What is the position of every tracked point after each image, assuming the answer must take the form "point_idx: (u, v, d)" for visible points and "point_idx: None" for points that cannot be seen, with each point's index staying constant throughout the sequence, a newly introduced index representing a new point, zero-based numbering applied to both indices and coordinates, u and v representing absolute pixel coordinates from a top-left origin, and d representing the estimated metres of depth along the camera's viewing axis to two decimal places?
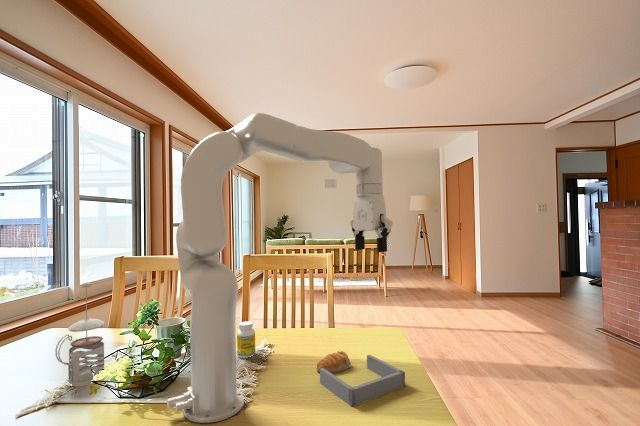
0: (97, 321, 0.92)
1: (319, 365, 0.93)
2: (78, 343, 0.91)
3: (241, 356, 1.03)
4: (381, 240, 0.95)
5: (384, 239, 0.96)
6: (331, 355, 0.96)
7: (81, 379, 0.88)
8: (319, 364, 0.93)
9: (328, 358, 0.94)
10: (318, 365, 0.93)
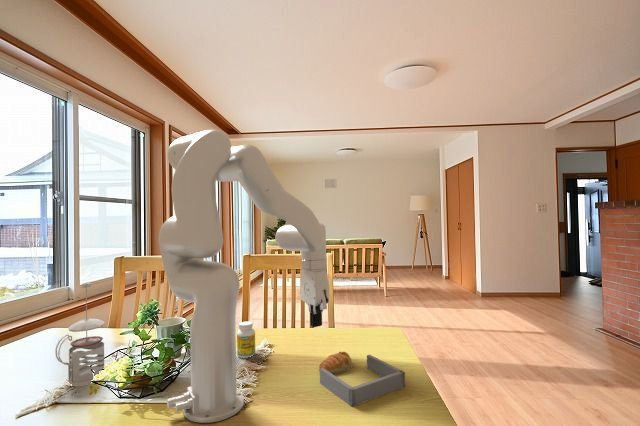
0: (97, 321, 0.92)
1: (322, 366, 0.92)
2: (78, 343, 0.91)
3: (241, 356, 1.03)
4: (315, 316, 1.03)
5: (318, 315, 1.03)
6: (333, 356, 0.95)
7: (81, 379, 0.88)
8: (322, 365, 0.93)
9: (331, 359, 0.94)
10: (321, 366, 0.92)
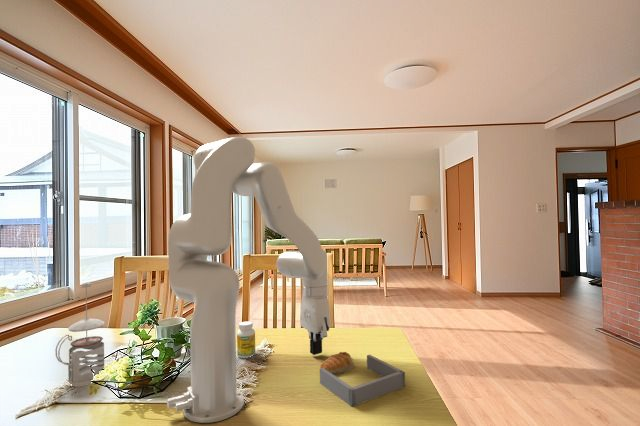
0: (97, 321, 0.92)
1: (323, 366, 0.92)
2: (78, 343, 0.91)
3: (241, 356, 1.03)
4: (315, 343, 1.02)
5: (318, 342, 1.02)
6: (334, 356, 0.95)
7: (81, 379, 0.88)
8: (323, 365, 0.92)
9: (332, 359, 0.94)
10: (322, 366, 0.92)
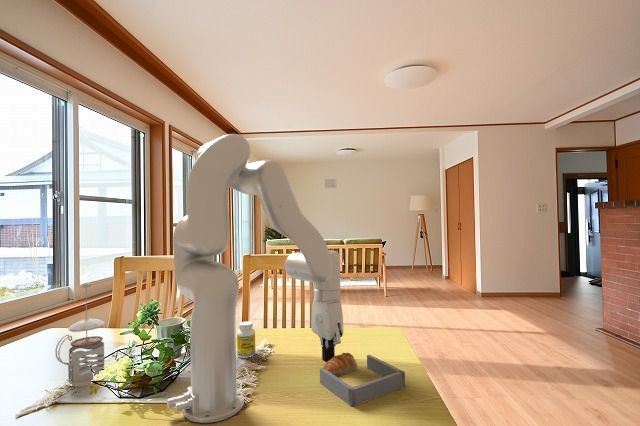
0: (97, 321, 0.92)
1: (326, 367, 0.91)
2: (78, 343, 0.91)
3: (241, 356, 1.03)
4: (328, 350, 0.97)
5: (331, 349, 0.97)
6: (337, 357, 0.94)
7: (81, 379, 0.88)
8: (326, 366, 0.92)
9: (335, 360, 0.93)
10: (325, 367, 0.91)
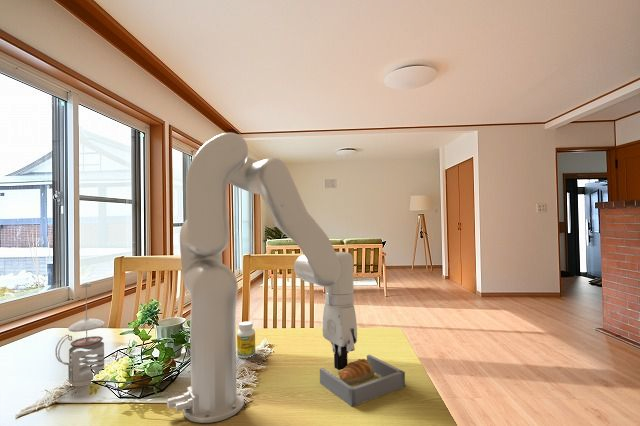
0: (97, 321, 0.92)
1: (342, 375, 0.87)
2: (78, 343, 0.91)
3: (241, 356, 1.03)
4: (341, 357, 0.92)
5: (344, 356, 0.92)
6: (353, 363, 0.90)
7: (81, 379, 0.88)
8: (342, 374, 0.87)
9: (351, 367, 0.88)
10: (341, 375, 0.87)
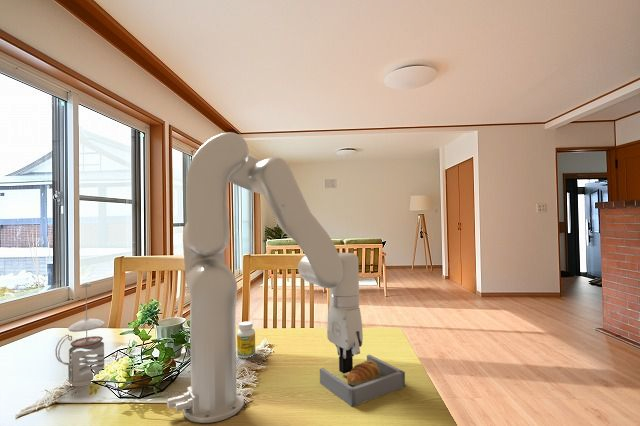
0: (97, 321, 0.92)
1: (351, 378, 0.85)
2: (78, 343, 0.91)
3: (241, 356, 1.03)
4: (346, 361, 0.90)
5: (349, 359, 0.90)
6: (361, 366, 0.89)
7: (81, 379, 0.88)
8: (350, 376, 0.86)
9: (359, 369, 0.87)
10: (349, 378, 0.85)
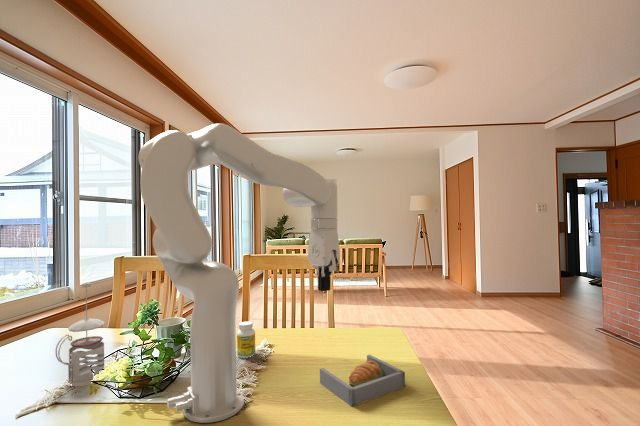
0: (97, 321, 0.92)
1: (353, 378, 0.85)
2: (78, 343, 0.91)
3: (241, 356, 1.03)
4: (324, 279, 0.97)
5: (327, 278, 0.97)
6: (362, 366, 0.88)
7: (81, 379, 0.88)
8: (352, 377, 0.85)
9: (361, 370, 0.87)
10: (351, 378, 0.85)
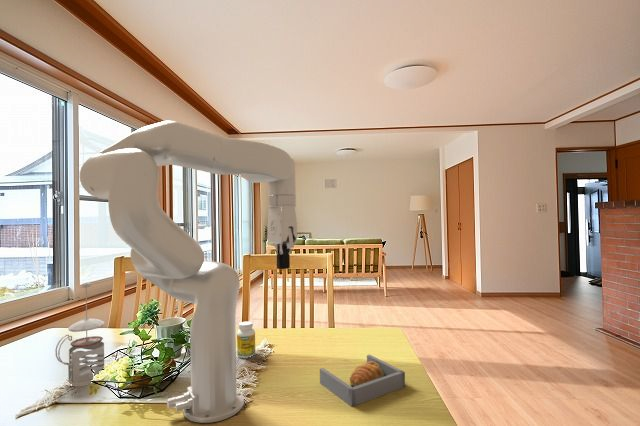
0: (97, 321, 0.92)
1: (354, 379, 0.84)
2: (78, 343, 0.91)
3: (241, 356, 1.03)
4: (282, 257, 0.95)
5: (285, 256, 0.96)
6: (363, 367, 0.88)
7: (81, 379, 0.88)
8: (354, 378, 0.85)
9: (362, 371, 0.86)
10: (353, 379, 0.85)
